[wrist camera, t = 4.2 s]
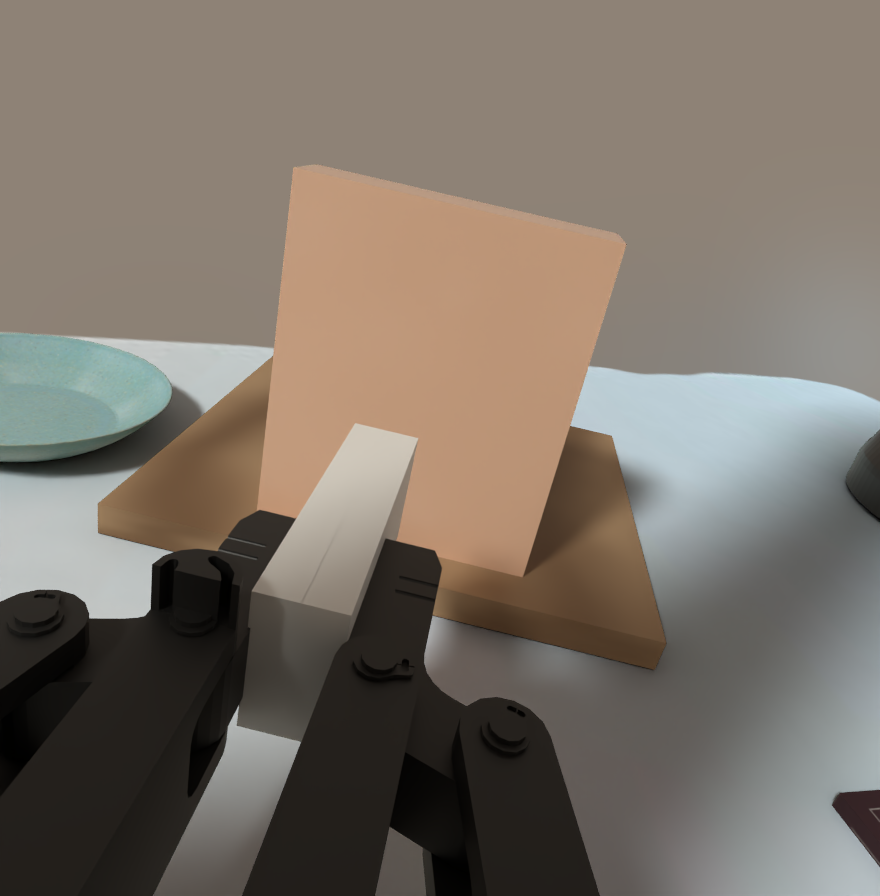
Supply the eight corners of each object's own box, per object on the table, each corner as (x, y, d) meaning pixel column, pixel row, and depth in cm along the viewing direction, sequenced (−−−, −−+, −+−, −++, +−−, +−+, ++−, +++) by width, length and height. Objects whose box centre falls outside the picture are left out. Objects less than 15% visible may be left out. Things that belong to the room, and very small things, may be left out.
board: (605, 454, 40) (611, 435, 40) (654, 669, 24) (666, 643, 24) (271, 374, 41) (273, 355, 40) (97, 532, 25) (97, 503, 24)
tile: (523, 540, 28) (616, 233, 23) (522, 577, 25) (626, 244, 20) (279, 481, 28) (317, 164, 23) (256, 512, 26) (293, 167, 21)
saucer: (164, 381, 38) (166, 341, 37) (178, 494, 28) (180, 444, 27) (-105, 368, 33) (-111, 322, 32) (-199, 499, 23) (-212, 438, 22)
